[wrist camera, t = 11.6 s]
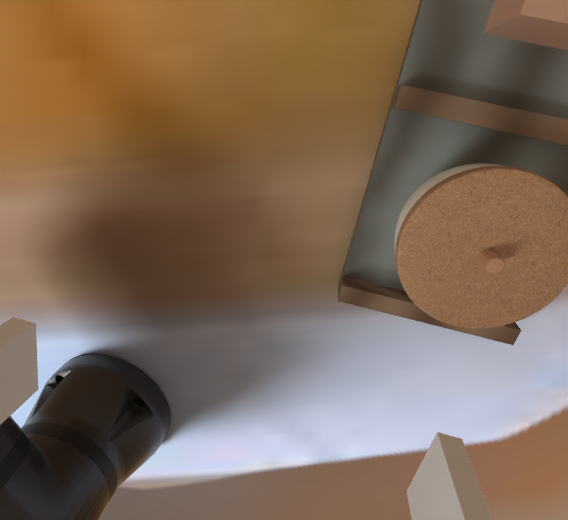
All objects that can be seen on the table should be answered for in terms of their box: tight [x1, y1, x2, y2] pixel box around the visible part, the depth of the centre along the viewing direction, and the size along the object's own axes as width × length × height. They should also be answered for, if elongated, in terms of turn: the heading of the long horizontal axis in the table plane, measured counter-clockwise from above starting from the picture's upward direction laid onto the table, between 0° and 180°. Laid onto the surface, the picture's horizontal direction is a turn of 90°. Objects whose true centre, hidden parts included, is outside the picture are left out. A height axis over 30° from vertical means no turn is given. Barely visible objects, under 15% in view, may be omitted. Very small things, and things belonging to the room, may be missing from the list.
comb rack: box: [338, 0, 568, 345], centre depth 27 cm, size 15×33×4 cm, turn 169°
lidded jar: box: [394, 163, 568, 328], centre depth 26 cm, size 11×11×9 cm
